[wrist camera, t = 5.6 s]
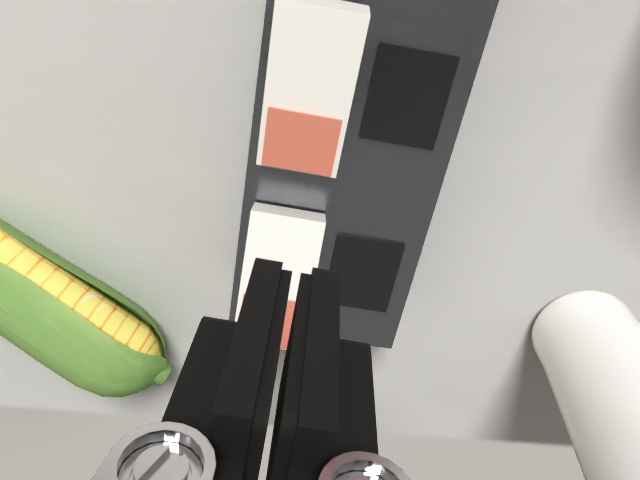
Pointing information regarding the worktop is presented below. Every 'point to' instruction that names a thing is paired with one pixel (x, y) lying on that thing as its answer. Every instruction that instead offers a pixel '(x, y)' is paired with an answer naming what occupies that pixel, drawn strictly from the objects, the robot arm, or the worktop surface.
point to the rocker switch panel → (381, 155)
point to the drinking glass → (594, 379)
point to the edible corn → (76, 321)
